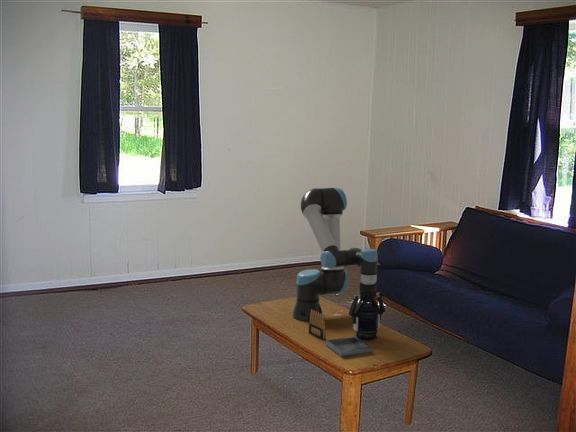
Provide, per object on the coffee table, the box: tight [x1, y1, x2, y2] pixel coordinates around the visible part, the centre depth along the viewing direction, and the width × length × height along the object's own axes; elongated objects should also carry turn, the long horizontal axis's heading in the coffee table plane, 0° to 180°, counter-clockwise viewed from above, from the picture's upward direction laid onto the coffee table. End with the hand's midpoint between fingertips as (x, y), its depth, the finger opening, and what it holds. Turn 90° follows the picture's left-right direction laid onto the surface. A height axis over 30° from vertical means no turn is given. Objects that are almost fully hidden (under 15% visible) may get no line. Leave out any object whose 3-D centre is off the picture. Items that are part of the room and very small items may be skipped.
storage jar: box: [355, 302, 379, 342], centre depth 304 cm, size 10×10×15 cm
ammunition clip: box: [308, 309, 326, 341], centre depth 305 cm, size 11×2×12 cm, turn 35°
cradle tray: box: [325, 335, 373, 358], centre depth 290 cm, size 15×15×2 cm
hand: (366, 328), depth 305 cm, fingers open, 11 cm apart
